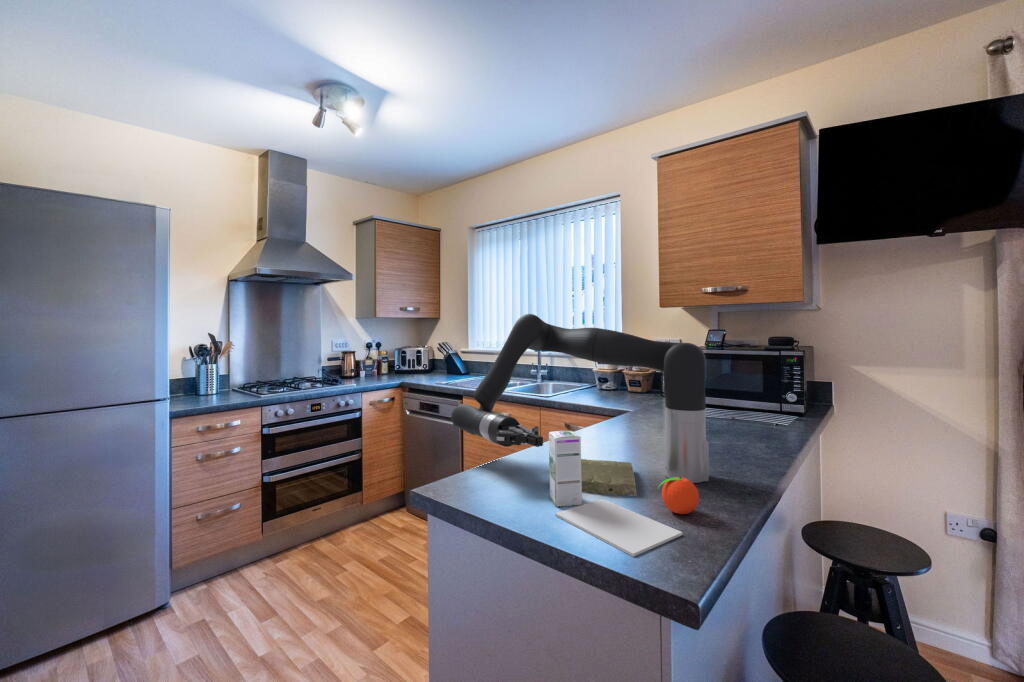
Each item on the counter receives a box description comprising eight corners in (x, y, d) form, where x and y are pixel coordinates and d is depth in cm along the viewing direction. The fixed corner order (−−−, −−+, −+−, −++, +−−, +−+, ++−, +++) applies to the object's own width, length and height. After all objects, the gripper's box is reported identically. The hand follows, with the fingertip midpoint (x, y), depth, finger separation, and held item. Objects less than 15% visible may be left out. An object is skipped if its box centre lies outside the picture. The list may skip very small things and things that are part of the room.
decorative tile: (555, 468, 116) (555, 455, 116) (632, 472, 111) (632, 459, 111) (546, 493, 97) (546, 477, 97) (638, 499, 93) (638, 483, 93)
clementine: (663, 520, 82) (663, 483, 81) (651, 506, 88) (651, 471, 88) (705, 520, 82) (705, 482, 81) (690, 505, 88) (690, 471, 88)
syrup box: (582, 505, 89) (582, 435, 89) (555, 507, 88) (554, 436, 88) (574, 495, 94) (574, 429, 94) (548, 497, 93) (548, 430, 93)
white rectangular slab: (555, 515, 84) (555, 513, 84) (602, 501, 91) (602, 498, 91) (633, 556, 68) (633, 553, 68) (682, 535, 75) (682, 532, 75)
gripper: (477, 417, 108) (516, 429, 94) (519, 412, 116) (562, 422, 102) (477, 447, 108) (517, 463, 94) (520, 439, 116) (562, 453, 102)
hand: (540, 442), depth 98 cm, fingers closed
